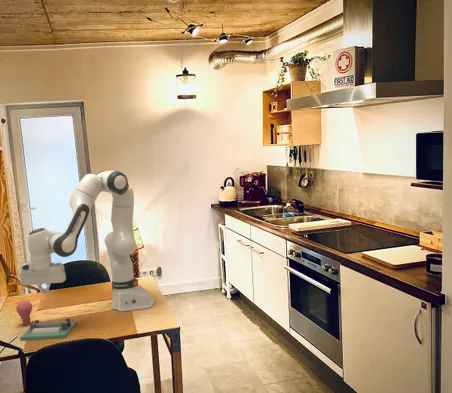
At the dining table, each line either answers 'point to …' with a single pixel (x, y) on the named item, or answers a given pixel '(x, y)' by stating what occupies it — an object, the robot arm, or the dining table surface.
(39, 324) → the steel strap
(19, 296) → the dining table surface
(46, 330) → the heat sink board
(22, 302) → the light bulb
